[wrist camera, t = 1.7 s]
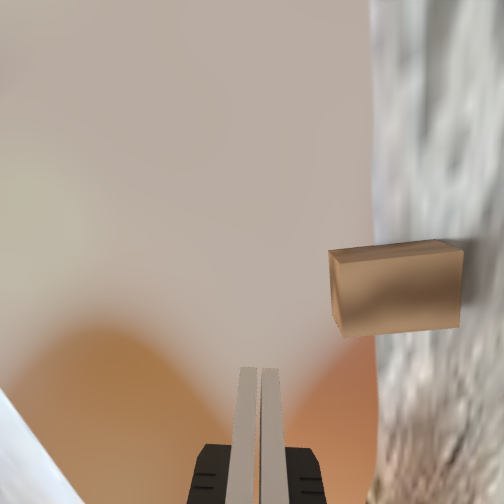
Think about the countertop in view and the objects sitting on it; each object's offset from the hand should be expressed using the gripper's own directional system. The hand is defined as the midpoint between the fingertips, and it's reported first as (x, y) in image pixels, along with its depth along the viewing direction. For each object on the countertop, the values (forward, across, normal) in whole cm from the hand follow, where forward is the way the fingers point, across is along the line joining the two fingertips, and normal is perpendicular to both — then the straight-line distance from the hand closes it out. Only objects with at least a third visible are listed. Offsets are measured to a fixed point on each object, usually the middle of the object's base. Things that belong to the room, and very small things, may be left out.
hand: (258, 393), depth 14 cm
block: (+17, +12, 0) cm, 21 cm away
